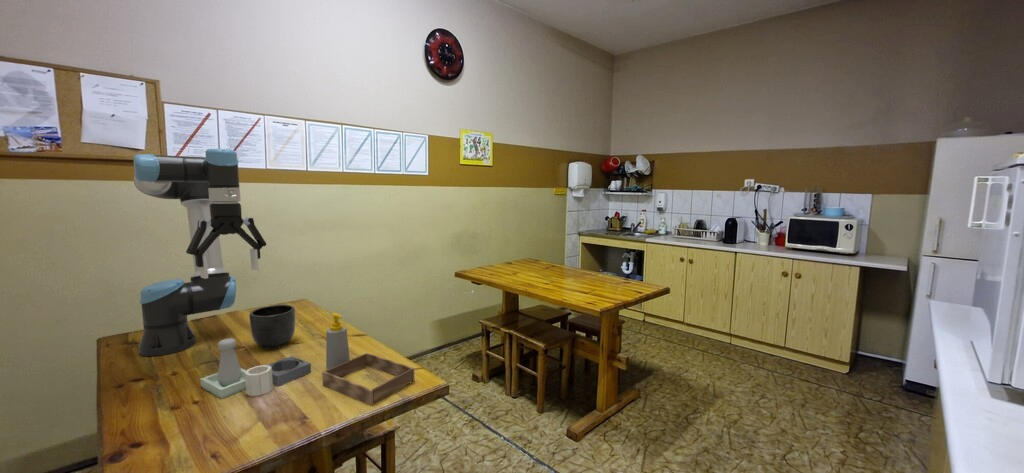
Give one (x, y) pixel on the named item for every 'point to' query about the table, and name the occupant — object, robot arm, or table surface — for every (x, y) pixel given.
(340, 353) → the soap bottle
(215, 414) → the table surface
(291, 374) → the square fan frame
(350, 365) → the book tray
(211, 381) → the mint green tray
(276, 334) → the planter
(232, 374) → the salt shaker
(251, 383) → the octagonal gray cup
